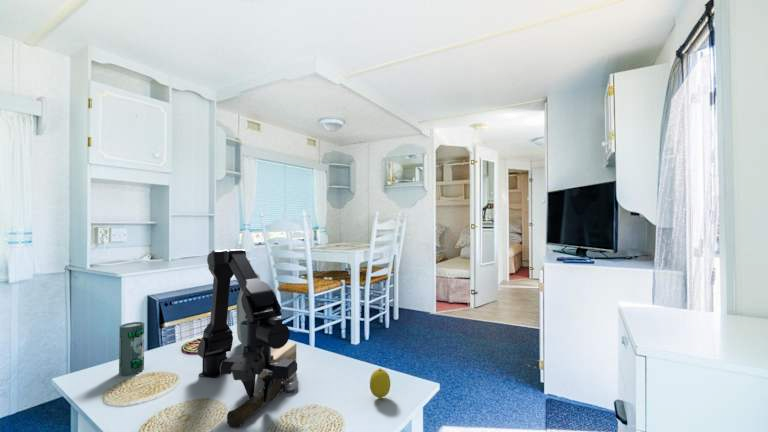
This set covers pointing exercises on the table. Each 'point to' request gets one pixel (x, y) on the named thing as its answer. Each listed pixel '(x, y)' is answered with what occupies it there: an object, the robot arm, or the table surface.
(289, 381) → the steel token
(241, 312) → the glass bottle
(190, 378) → the table surface
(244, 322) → the grey green cup
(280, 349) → the beige wooden box
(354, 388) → the table surface
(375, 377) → the lemon
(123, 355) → the can
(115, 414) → the table surface
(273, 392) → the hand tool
